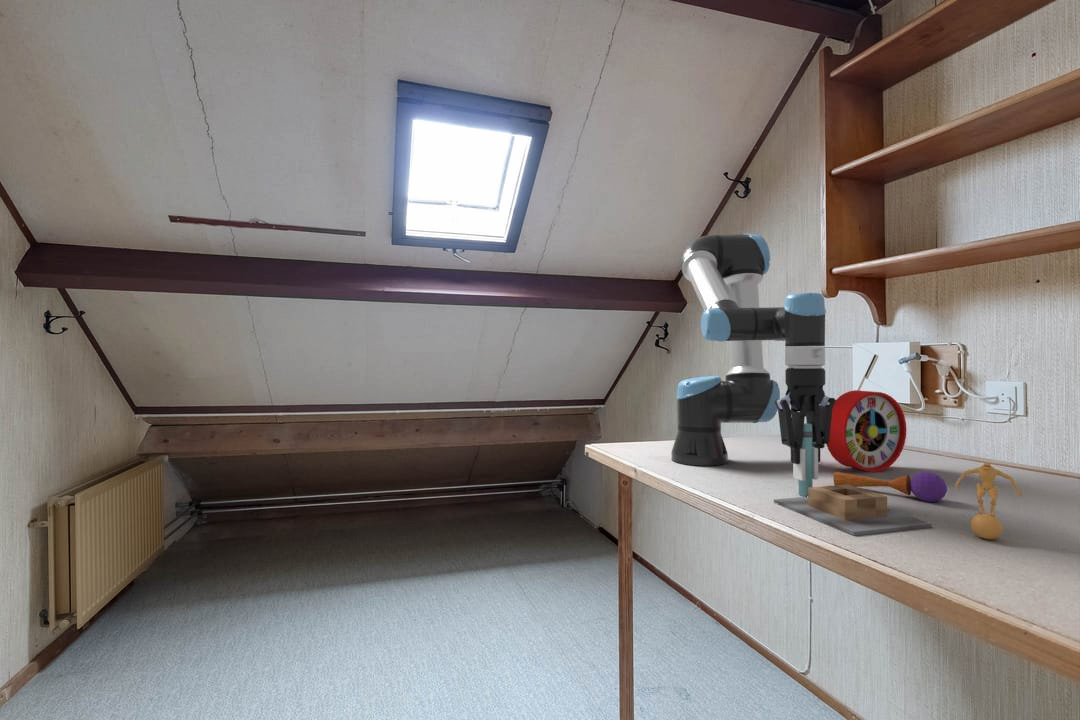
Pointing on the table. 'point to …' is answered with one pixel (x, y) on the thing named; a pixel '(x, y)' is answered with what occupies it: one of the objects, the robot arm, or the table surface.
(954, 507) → the table surface
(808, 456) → the banded teal rod
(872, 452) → the toy clock
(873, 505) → the gray base plate
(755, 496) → the table surface
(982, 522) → the figurine
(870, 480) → the kendama
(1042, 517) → the table surface
